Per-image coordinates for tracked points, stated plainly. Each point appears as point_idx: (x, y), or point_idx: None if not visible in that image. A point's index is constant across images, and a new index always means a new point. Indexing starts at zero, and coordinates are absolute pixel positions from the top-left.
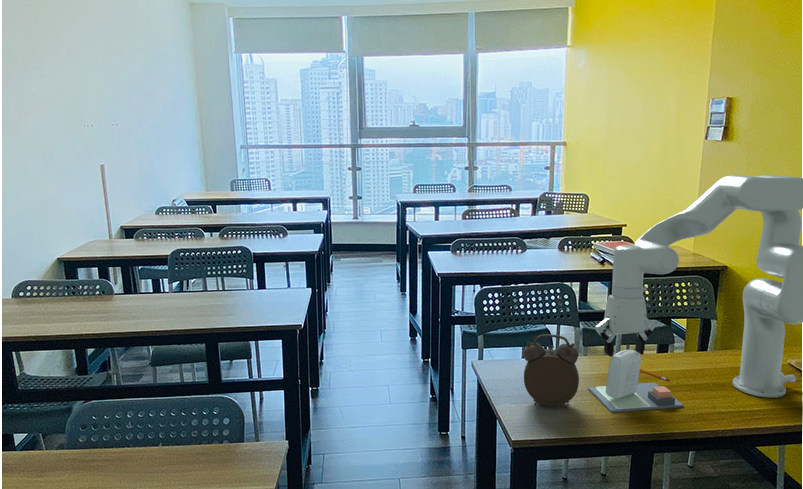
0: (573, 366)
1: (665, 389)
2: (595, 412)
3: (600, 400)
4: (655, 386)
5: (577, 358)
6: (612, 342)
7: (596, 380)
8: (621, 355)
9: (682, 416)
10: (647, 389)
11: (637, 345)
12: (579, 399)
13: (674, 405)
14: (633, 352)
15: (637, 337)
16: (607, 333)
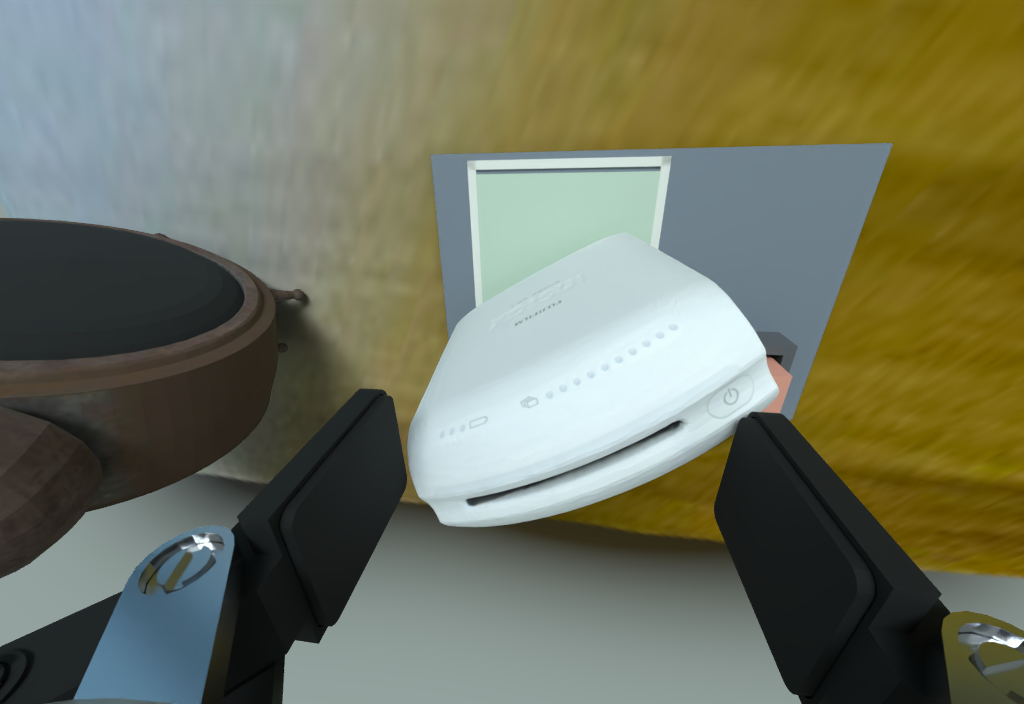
0: (112, 485)
1: (763, 410)
2: (397, 381)
3: (447, 304)
4: (841, 207)
5: (74, 516)
6: (313, 634)
7: (535, 10)
8: (476, 523)
9: (711, 469)
10: (756, 239)
11: (768, 517)
12: (361, 265)
13: None
14: (660, 474)
15: (881, 616)
16: (138, 695)
